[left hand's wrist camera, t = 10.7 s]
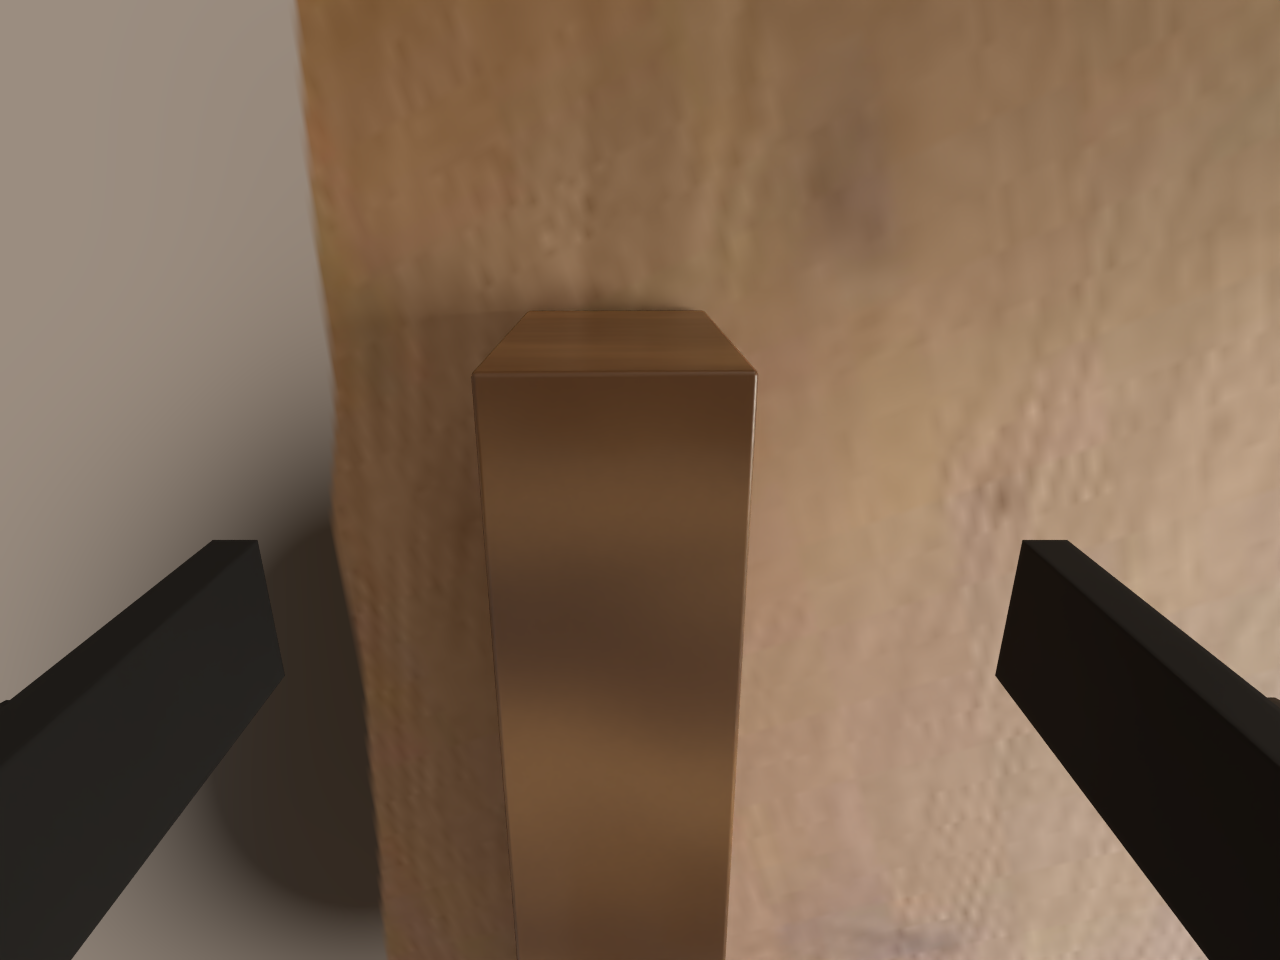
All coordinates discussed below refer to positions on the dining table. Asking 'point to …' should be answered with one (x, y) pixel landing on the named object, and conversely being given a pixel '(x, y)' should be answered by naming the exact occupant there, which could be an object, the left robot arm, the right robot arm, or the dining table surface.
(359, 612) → the dining table surface
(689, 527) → the beam
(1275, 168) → the dining table surface
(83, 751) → the left robot arm
